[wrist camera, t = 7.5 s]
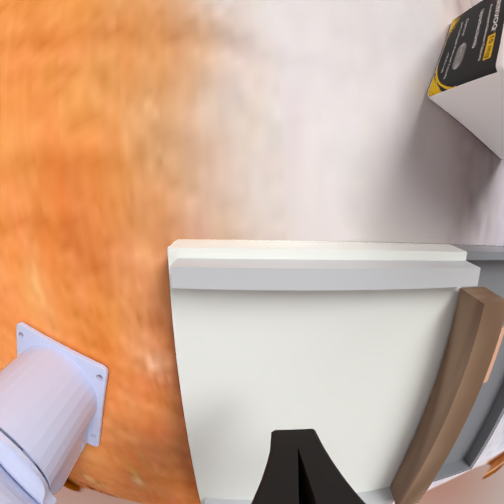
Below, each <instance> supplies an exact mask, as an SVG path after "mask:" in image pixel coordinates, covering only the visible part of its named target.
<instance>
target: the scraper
mask: <svg viewBox="0 0 504 504" xmlns="http://www.w3.org/2000/svg"><path fill="white" fill-rule="evenodd" d="M503 322H504V298H502V297H500V296H499V295H497V294H495V293H494V292H492V291H490V290H489V289H487V288H485V287H471V288H460V290H459V295H458V300H457V305H456V309H455V314H454V318H453V322H452V326H451V330H450V334H449V338H448V341H447V345H446V349H445V352H444V356H443V359H442V362H441V365H440V369H439V372H438V375H437V378H436V381H435V384H434V387H433V390H432V392H431V395H430V398H429V401H428V403H427V406H426V409H425V411H424V414H423V416H422V419H421V421H420V424H419V426H418V429H417V431H416V433H415V436H414V438H413V440H412V442H411V445H410V447H409V449H408V451H407V453H406V455H405V457H404V460H403V462H402V464H401V466H400V468H399V470H398V472H397V474H396V476H395V477H394V479H393V481H392V483H391V485H390V490H391V492H392V495H393V498H394V501H395V504H415V503H418V502H419V501H420V500H421V498H422V497H423V495H424V494H425V492H426V491H427V489H428V488H429V486H430V485H431V483H432V482H433V480H434V478H435V477H436V475H437V474H438V472H439V470H440V469H441V467H442V465H443V464H444V462H445V460H446V458H447V457H448V455H449V453H450V451H451V450H452V448H453V446H454V444H455V442H456V440H457V438H458V437H459V435H460V433H461V431H462V429H463V427H464V425H465V423H466V420H467V418H468V416H469V414H470V412H471V410H472V408H473V405H474V403H475V401H476V399H477V396H478V394H479V391H480V389H481V387H482V384H483V382H484V379H485V376H486V374H487V371H488V369H489V366H490V363H491V360H492V357H493V354H494V351H495V348H496V345H497V342H498V339H499V336H500V333H501V329H502V326H503Z"/></svg>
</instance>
